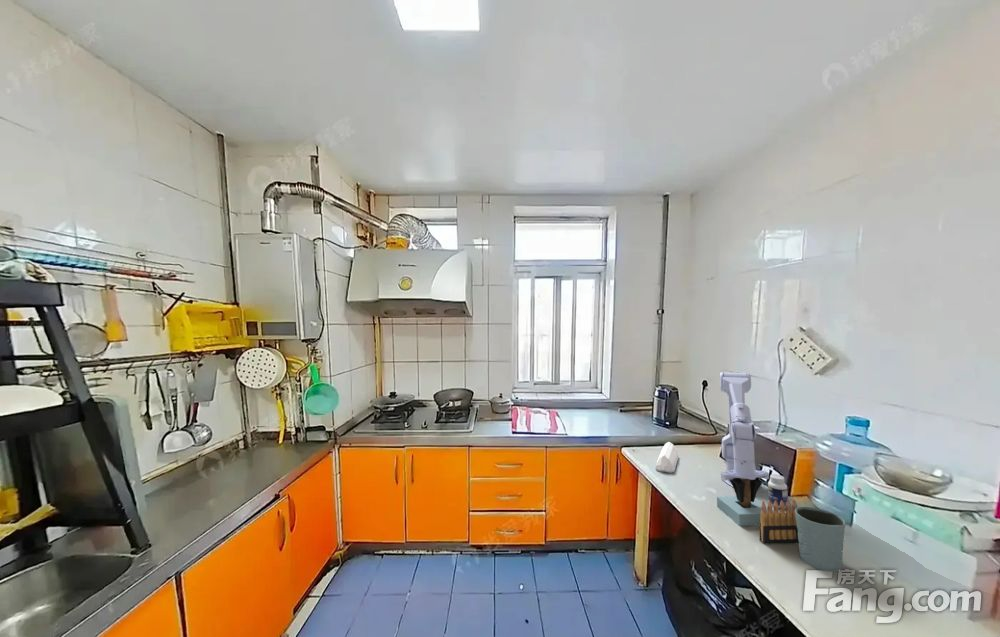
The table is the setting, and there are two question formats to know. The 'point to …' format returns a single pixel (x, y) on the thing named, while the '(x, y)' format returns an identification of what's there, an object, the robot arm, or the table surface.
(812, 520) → the grey plant pot
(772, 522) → the ammunition clip
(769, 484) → the pill bottle
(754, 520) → the socket block
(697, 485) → the table surface
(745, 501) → the walnut peg
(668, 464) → the crystal
